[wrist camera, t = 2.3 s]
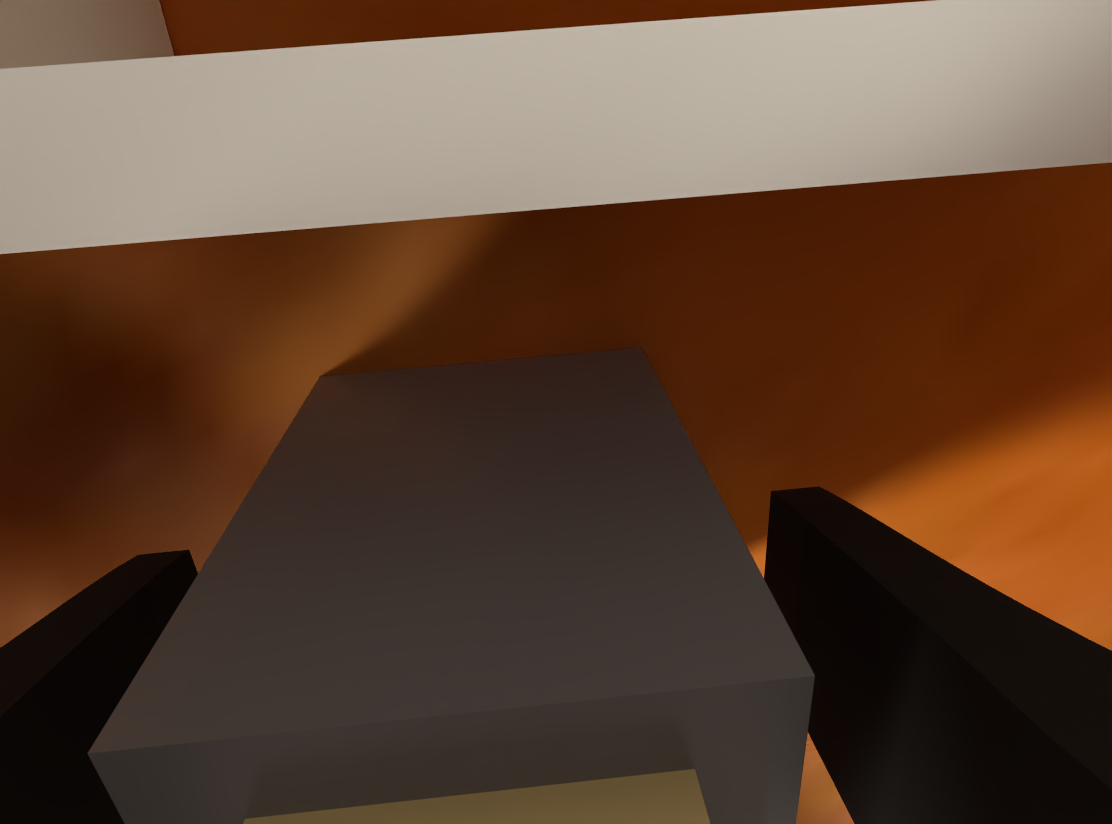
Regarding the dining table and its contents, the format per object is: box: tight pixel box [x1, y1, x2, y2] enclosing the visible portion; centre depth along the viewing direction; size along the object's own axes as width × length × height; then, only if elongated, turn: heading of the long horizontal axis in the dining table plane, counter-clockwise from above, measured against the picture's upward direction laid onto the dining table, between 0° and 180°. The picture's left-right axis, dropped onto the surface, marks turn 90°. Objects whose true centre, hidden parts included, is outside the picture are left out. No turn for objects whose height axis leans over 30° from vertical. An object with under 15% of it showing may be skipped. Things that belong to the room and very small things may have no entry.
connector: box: [87, 347, 815, 824], centre depth 8 cm, size 4×4×6 cm
